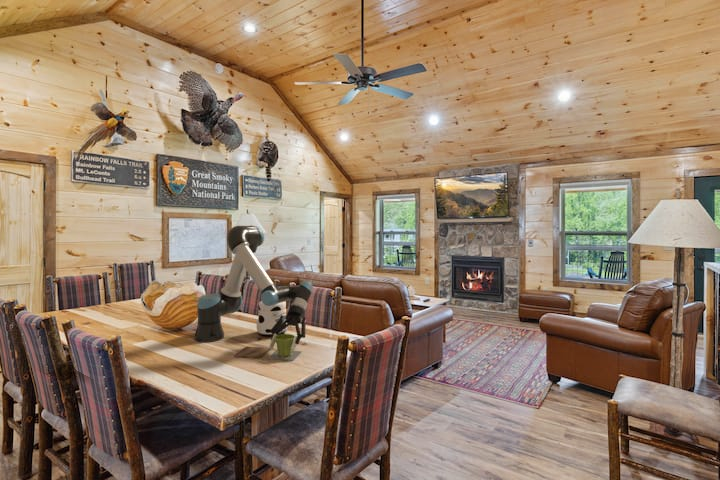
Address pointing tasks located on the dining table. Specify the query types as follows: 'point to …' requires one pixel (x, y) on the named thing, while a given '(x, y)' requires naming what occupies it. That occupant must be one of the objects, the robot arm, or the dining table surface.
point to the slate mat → (288, 358)
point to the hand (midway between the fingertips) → (281, 348)
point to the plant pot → (284, 344)
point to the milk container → (270, 317)
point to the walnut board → (252, 352)
